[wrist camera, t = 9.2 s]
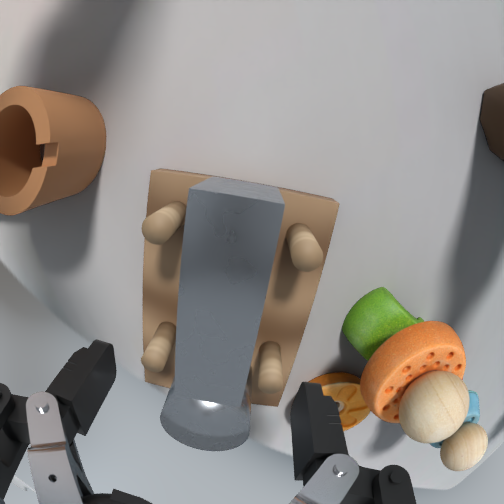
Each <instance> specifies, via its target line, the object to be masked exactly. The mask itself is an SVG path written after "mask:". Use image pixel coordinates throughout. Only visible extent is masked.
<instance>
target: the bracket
mask: <svg viewBox="0 0 504 504" xmlns="http://www.w3.org/2000/svg"><path fill="white" fill-rule="evenodd" d="M41 144H45V150H44V157H43V162H42V160H41V154H40V146H41ZM105 150H106V129H105V124H104V120H103V118H102V115H101V113H100V111H99V110H98V108H97V107H96V106H95V105H94V104H93V103H92V102H91V101H90V100H88V99H86V98H84V97H81V96H76V95H71V94H66V93H61V92H56V91H51V90H45V89H39V88H33V87H26V86H16V87H13V88H10V89H8V90H7V91H5V92H4V93H2V94H1V95H0V213H2V214H4V215H16V214H19V213H22V212H24V211H27V210H30V209H33V208H36V207H38V206H41V205H44V204H47V203H50V202H53V201H56V200H59V199H62V198H65V197H69V196H72V195H75V194H77V193H79V192H81V191H83V190H84V189H85V188H86V187H87V186H88V185H89V184H90V183H91V182H92V181H93V180H94V178H95V177H96V175H97V173H98V172H99V169H100V167H101V165H102V162H103V159H104V155H105Z"/></svg>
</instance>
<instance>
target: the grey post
mask: <svg viewBox="0 0 504 504" xmlns="http://www.w3.org/2000/svg"><path fill="white" fill-rule="evenodd" d="M284 208H285V202H284V200H283V198H282V195H281V193H280V191H279V188H278V187H274V186H268V185H263V184H257V183H252V182H246V181H240V180H234V179H227V178H221V177H214V176H212V177H210V178H208V179H206V180H204V181H202V182H200V183H198V184H196V185H194V186H192V187H190V188H189V192H188V199H187V208H186V216H185V225H184V234H183V244H182V255H181V266H180V278H179V292H178V307H177V325H176V348H175V376H174V379H173V381H172V384H171V387H170V390H169V393H168V395H167V398H166V401H165V404H164V407H163V409H162V412H161V416H160V420H161V424H162V426H163V428H164V429H165V431H166V432H167V433H168V434H169V435H171V436H172V437H173V438H174V439H176V440H177V441H179V442H181V443H183V444H185V445H187V446H190V447H193V448H196V449H201V450H207V451H224V450H229V449H233V448H235V447H238V446H240V445H242V444H243V443H244V442H245V441H246V440H247V439H248V436H249V431H250V413H251V395H252V377H253V372H252V367H251V361H252V356H253V352H254V348H255V343H256V339H257V335H258V330H259V326H260V321H261V317H262V312H263V308H264V303H265V299H266V294H267V290H268V285H269V280H270V276H271V271H272V266H273V262H274V257H275V252H276V247H277V243H278V238H279V233H280V228H281V223H282V218H283V213H284Z"/></svg>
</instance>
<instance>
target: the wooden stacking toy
mask: <svg viewBox="0 0 504 504" xmlns="http://www.w3.org/2000/svg"><path fill="white" fill-rule="evenodd" d="M342 331H343V333H344V335H345V336H346V338H347V339H348V341H349V342H350V343H351V344H352V346H353V347H354V348H355V349H356V350H357V351H358V352H359V353H360V354H361V355H362V356H363V357H364V358H365V359H366V360H367V361H368V362H367V364H366V366H365V368H364V370H363V373H362V376H361V380H360V379H359V378H358V377H357V376H355V375H352V374H349V373H342V372H336V373H329V374H325V375H322V376H319V377H316V378H314V379H312V380H311V381H309V382H310V383H320V384H321V386H322V390H323V395H324V396H331V397H332V398H333V400H334V401H335V402H336V404H337V406H338V410H339V414H340V415H339V417H340V419H341V425H342V428H343V431H345V430H348V429H350V428H352V427H354V426H356V425H357V424H359V423H360V422H361V421H362V420H364V419H365V418H366V417H367V415H368V414H369V413H370V411H372V412H373V413H374V414H375V415H376V416H377V417H379V418H380V419H382V420H384V421H386V422H390V423H400V424H401V427H402V429H403V430H404V432H405V433H406V434H407V435H408V436H409V437H410V438H411V439H413V440H415V441H418V442H421V443H429V444H430V445H432V446H433V447H435V448H441V450H440V456H441V460H442V462H443V464H444V465H445V466H446V467H447V468H448V469H450V470H453V471H463V470H467V469H469V468H471V467H472V466H474V465H475V464H476V463H477V462H479V460H480V459H481V458H482V457H483V455H484V453H485V451H486V448H487V443H488V438H487V434H486V432H485V430H484V429H483V428H482V427H481V426H480V425H478V424H477V423H478V421H479V417H480V411H479V398H478V395H477V393H476V392H474V391H470V390H468V389H467V387H466V385H465V383H464V382H463V381H462V380H463V375H464V371H465V366H466V357H465V352H464V348H463V345H462V343H461V341H460V339H459V337H458V335H457V334H456V333H455V331H454V330H453V329H452V328H451V327H450V326H449V325H447V324H445V323H443V322H439V321H426V322H424V320H423V319H422V318H420V317H419V318H418V319H416V318H415V317H413V316H412V315H411V314H410V313H409V312H408V311H407V310H405V308H404V307H403V306H402V305H401V304H400V303H399V302H398V301H397V300H396V299H395V298H394V297H393V295H392V294H391V293H390V292H389V291H388V290H387V289H386V288H384V287H380V288H377V289H375V290H373V291H371V292H369V293H368V294H366V295H365V296H363V297H362V298H361V299H360V300H359V301H358V302H357V303H356V304H355V305H354V306H353V307H352V308H351V310H350V311H349V313H348V314H347V316H346V318H345V320H344V323H343V326H342Z"/></svg>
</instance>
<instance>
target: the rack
mask: <svg viewBox="0 0 504 504" xmlns="http://www.w3.org/2000/svg"><path fill="white" fill-rule="evenodd" d="M210 177H212V176H211V175H204V174H198V173H191V172H184V171H176V170H168V169H157V170H152V171H151V175H150V184H149V193H148V203H147V215H146V219H145V220H144V221H143V224H142V233H143V236H144V237H145V243H144V264H143V349H144V354H143V356H142V358H141V362H142V364H143V366H144V370H145V382H148V383H152V384H156V385H160V386H164V387H168V388H170V387H171V384H172V381H173V379H174V376H175V348H176V325H177V307H178V292H179V278H180V266H181V255H182V244H183V234H184V225H185V216H186V208H187V199H188V192H189V188H190V187H192V186H194V185H196V184H198V183H200V182H202V181H204V180H206V179H208V178H210ZM214 177H217V176H214ZM221 178H224V177H221ZM227 179H230V178H227ZM234 180H236V179H234ZM240 181H242V180H240ZM246 182H247V181H246ZM252 183H253V182H252ZM257 184H259V183H257ZM263 185H264V184H263ZM268 186H269V185H268ZM274 187H275V186H274ZM278 188H279V191H280V193H281V195H282V198H283V200H284V202H285V208H284V213H283V218H282V223H281V228H280V233H279V238H278V243H277V247H276V252H275V257H274V262H273V266H272V271H271V276H270V280H269V285H268V290H267V294H266V299H265V303H264V308H263V312H262V317H261V321H260V326H259V330H258V335H257V339H256V343H255V348H254V352H253V356H252V361H251V367H252V372H253V377H252V395H251V403H252V404H260V405H268V406H277V407H278V405H279V402H280V399H281V397H282V394H283V391H284V388H285V386H286V383H287V380H288V377H289V375H290V372H291V369H292V366H293V363H294V360H295V357H296V354H297V351H298V348H299V345H300V342H301V339H302V336H303V333H304V330H305V327H306V324H307V321H308V317H309V314H310V311H311V308H312V304H313V301H314V298H315V294H316V291H317V288H318V284H319V281H320V277H321V274H322V270H323V266H324V263H325V259H326V255H327V252H328V248H329V244H330V240H331V236H332V232H333V229H334V225H335V220H336V216H337V212H338V208H339V203H338V202H336V201H335V200H334V199H332V198H327V197H323V196H318V195H314V194H309V193H304V192H300V191H295V190H290V189H285V188H280V187H278Z"/></svg>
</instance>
